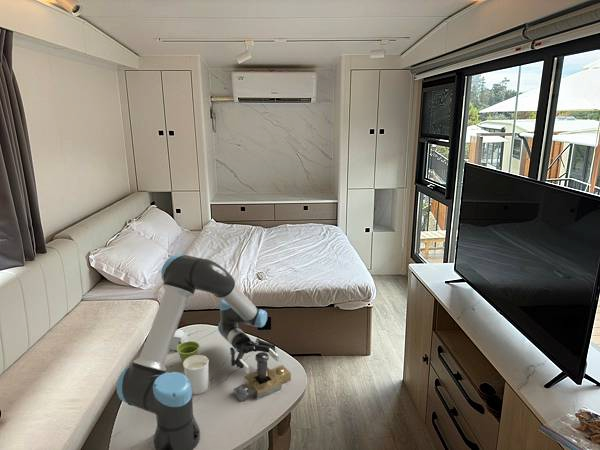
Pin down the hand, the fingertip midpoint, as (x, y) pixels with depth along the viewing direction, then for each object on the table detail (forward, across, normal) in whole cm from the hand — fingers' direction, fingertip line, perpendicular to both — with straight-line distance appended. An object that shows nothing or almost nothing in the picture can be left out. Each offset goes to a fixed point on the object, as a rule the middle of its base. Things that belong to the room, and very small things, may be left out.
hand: (263, 364), depth 166 cm
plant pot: (-31, +20, -10) cm, 38 cm away
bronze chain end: (0, -3, -10) cm, 10 cm away
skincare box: (-47, +19, -10) cm, 52 cm away
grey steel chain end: (0, +3, -10) cm, 11 cm away
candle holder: (-14, +22, -10) cm, 29 cm away
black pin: (0, 0, -10) cm, 10 cm away
